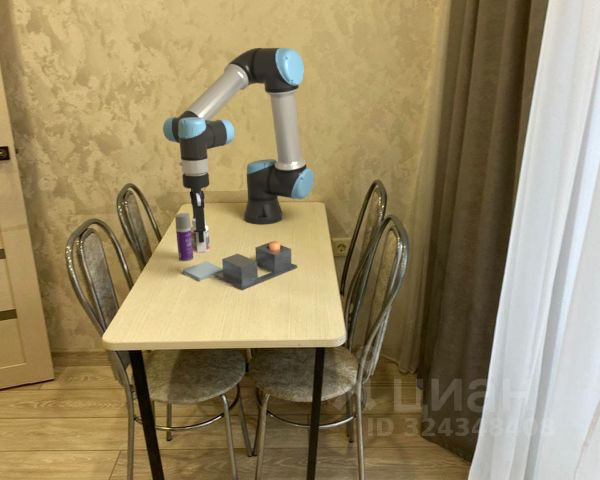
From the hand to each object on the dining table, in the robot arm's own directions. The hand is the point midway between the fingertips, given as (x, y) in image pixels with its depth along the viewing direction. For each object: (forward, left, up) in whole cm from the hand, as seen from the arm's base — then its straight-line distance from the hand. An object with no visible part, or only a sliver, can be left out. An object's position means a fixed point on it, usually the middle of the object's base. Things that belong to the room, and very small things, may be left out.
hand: (201, 247), depth 165 cm
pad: (0, 0, -8) cm, 8 cm away
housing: (-12, +12, -8) cm, 19 cm away
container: (-3, -13, -8) cm, 16 cm away
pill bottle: (0, 0, -1) cm, 1 cm away
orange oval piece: (-19, +12, -6) cm, 23 cm away
